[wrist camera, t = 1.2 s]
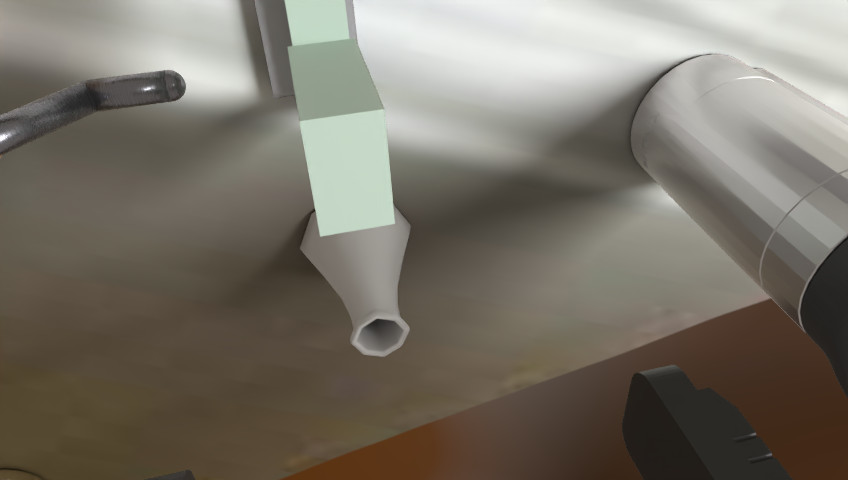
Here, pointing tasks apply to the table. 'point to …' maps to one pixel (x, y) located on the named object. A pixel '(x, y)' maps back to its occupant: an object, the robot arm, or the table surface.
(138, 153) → the table surface
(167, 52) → the table surface
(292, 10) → the square frame with post
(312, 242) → the flask
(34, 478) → the water bottle
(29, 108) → the bent wire
